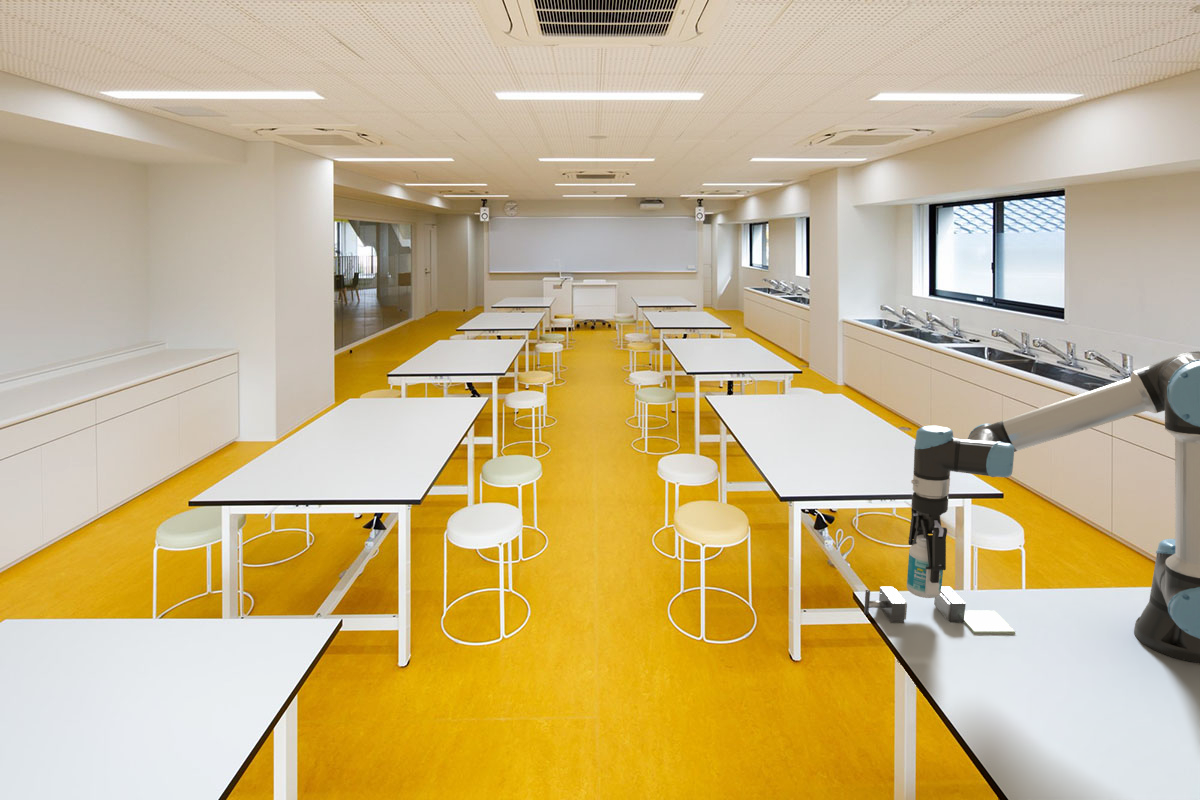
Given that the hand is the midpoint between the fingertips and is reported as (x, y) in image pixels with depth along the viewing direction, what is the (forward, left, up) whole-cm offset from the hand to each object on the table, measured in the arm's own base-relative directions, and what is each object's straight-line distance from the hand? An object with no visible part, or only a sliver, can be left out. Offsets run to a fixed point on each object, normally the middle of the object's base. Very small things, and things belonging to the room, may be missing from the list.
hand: (924, 585), depth 161 cm
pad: (-13, +4, -8) cm, 15 cm away
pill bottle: (0, 0, -2) cm, 2 cm away
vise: (+3, 0, -9) cm, 9 cm away
